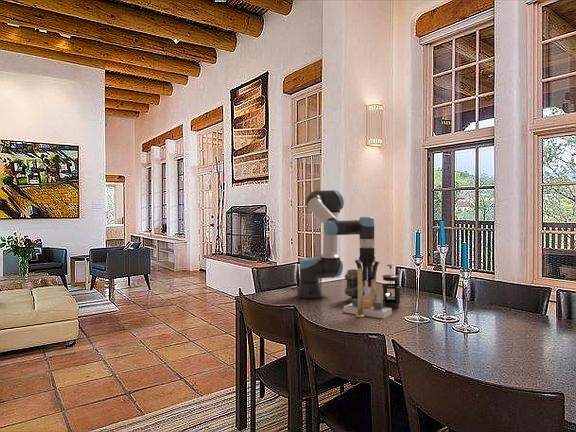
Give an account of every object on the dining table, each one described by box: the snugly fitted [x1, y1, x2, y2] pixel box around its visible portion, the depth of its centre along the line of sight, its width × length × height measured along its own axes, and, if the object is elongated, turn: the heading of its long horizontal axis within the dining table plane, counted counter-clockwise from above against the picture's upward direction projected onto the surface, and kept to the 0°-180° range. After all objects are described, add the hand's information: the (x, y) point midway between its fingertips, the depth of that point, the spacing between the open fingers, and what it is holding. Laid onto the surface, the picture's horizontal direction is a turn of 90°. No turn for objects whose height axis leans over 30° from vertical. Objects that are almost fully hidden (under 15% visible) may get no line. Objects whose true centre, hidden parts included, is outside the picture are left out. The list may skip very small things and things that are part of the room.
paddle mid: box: [363, 299, 372, 308], centre depth 214 cm, size 4×2×3 cm, turn 53°
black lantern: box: [381, 264, 401, 310], centre depth 226 cm, size 12×9×23 cm
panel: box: [343, 302, 393, 319], centre depth 214 cm, size 22×10×3 cm, turn 53°
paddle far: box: [374, 301, 383, 309], centre depth 211 cm, size 4×2×3 cm, turn 53°
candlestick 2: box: [371, 263, 377, 305], centre depth 220 cm, size 4×4×24 cm
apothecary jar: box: [344, 268, 366, 304], centre depth 242 cm, size 12×12×18 cm
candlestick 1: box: [355, 267, 366, 319], centre depth 208 cm, size 4×4×24 cm
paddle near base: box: [352, 299, 358, 306], centre depth 218 cm, size 4×2×3 cm, turn 53°
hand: (367, 293), depth 214 cm, fingers closed
